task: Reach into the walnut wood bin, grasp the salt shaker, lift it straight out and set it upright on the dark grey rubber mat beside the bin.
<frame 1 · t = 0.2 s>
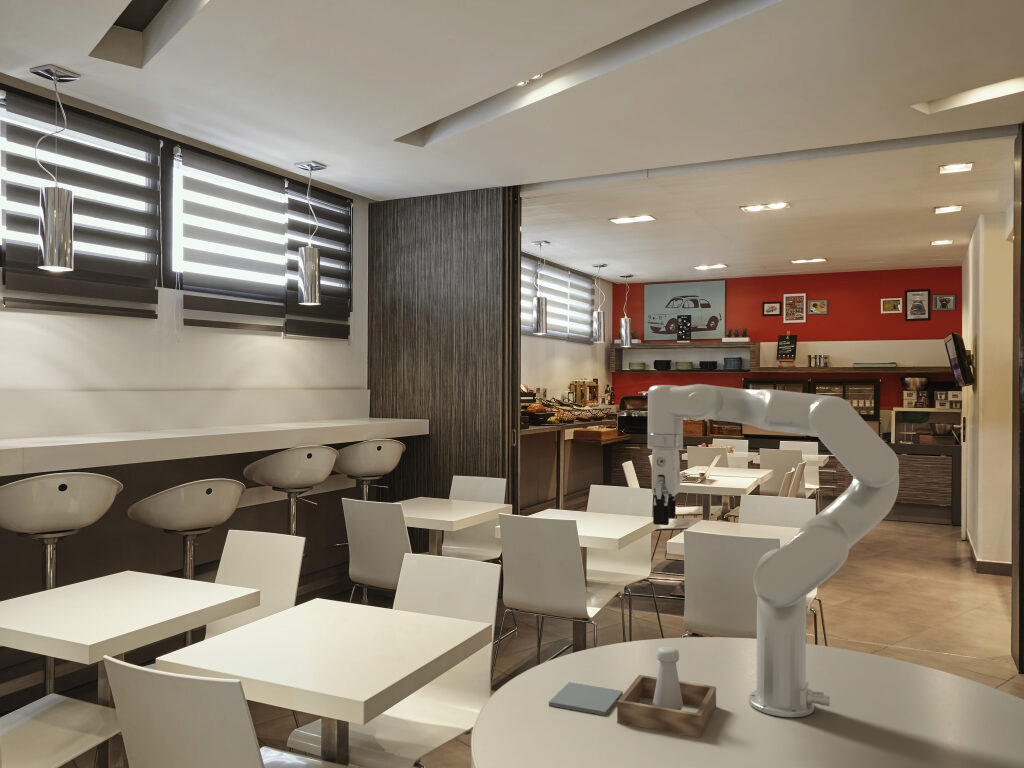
hand: (664, 521, 169), 36 cm above the table, tool pointing down, fingers open, 9 cm apart
bin: (667, 714, 154), on the table
salt shaker: (667, 715, 154), resting in bin
mat: (586, 700, 161), on the table
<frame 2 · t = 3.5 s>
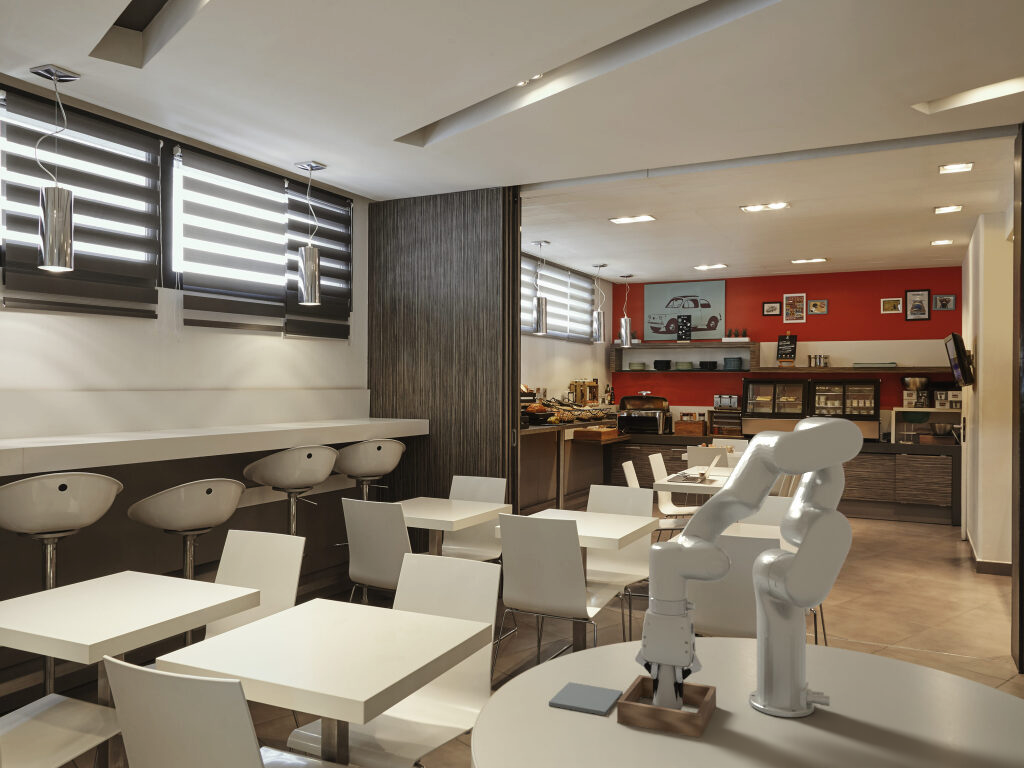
hand: (668, 697, 155), 3 cm above the table, tool pointing down, fingers closed on salt shaker, 3 cm apart
salt shaker: (667, 715, 154), resting in bin, touching gripper
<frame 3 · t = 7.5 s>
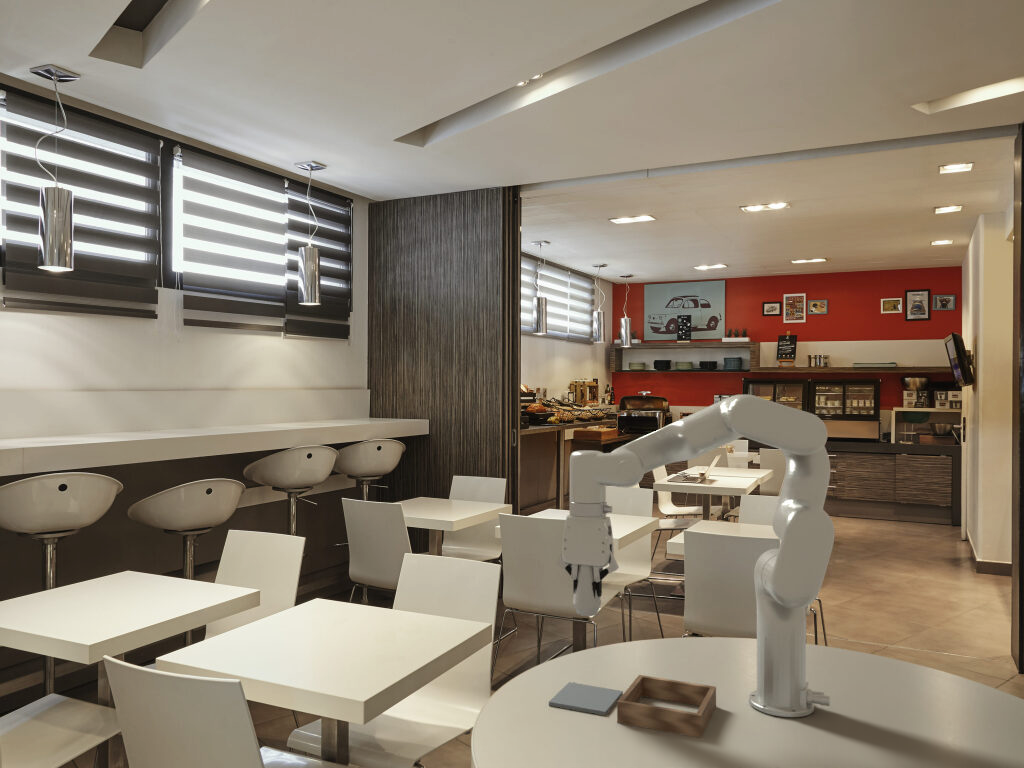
hand: (587, 598, 162), 21 cm above the table, tool pointing down, fingers closed on salt shaker, 3 cm apart
salt shaker: (587, 614, 162), point 18 cm above the table, touching gripper
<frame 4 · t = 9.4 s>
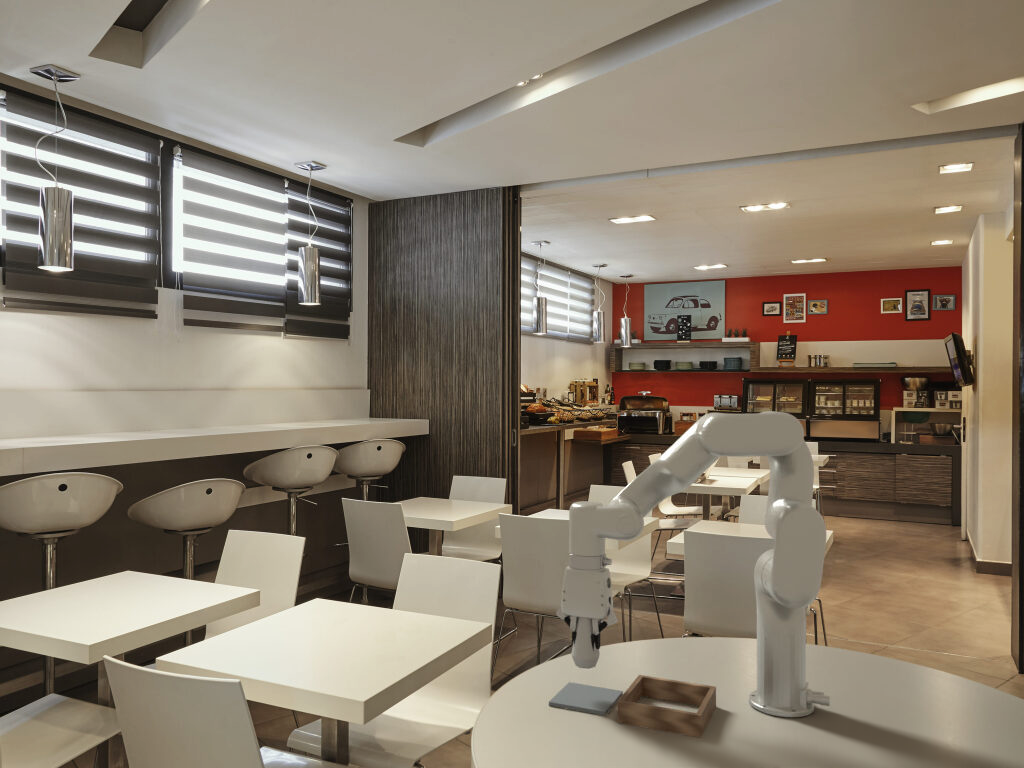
hand: (586, 649, 162), 10 cm above the table, tool pointing down, fingers closed on salt shaker, 3 cm apart
salt shaker: (585, 666, 162), point 7 cm above the table, touching gripper
when the fingers open (5 cm above the table, at t = 11.1 s): salt shaker drops 1 cm, resting on mat.
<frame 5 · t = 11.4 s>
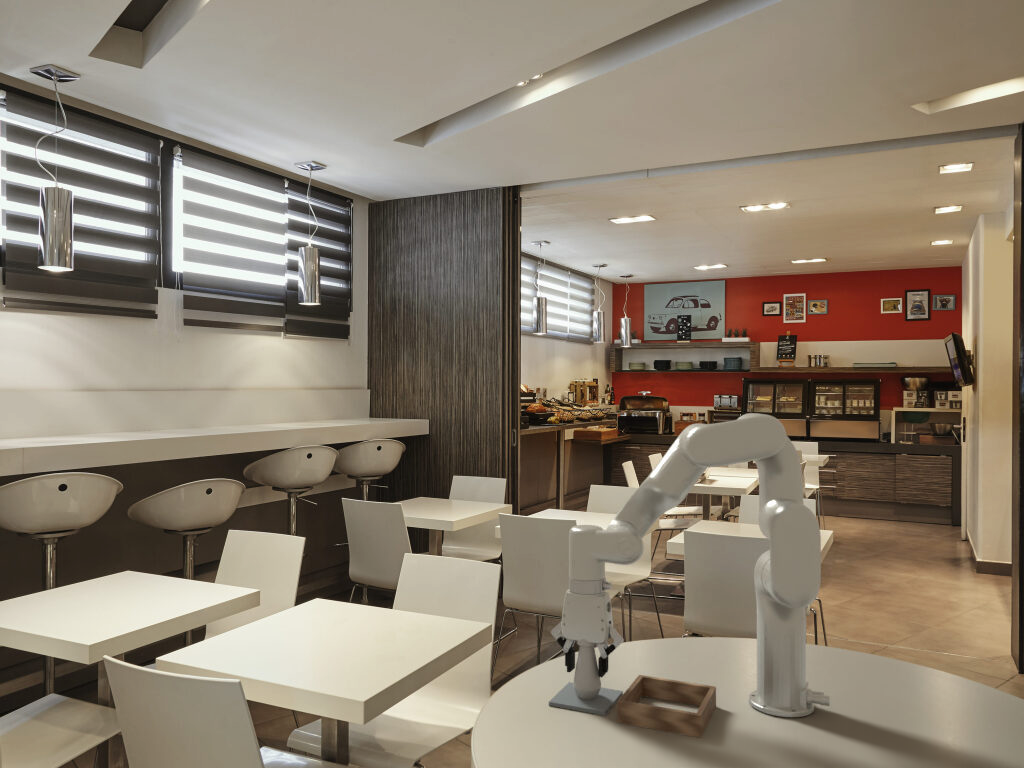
hand: (586, 671, 162), 6 cm above the table, tool pointing down, fingers open, 6 cm apart
salt shaker: (587, 697, 161), point 1 cm above the table, touching mat
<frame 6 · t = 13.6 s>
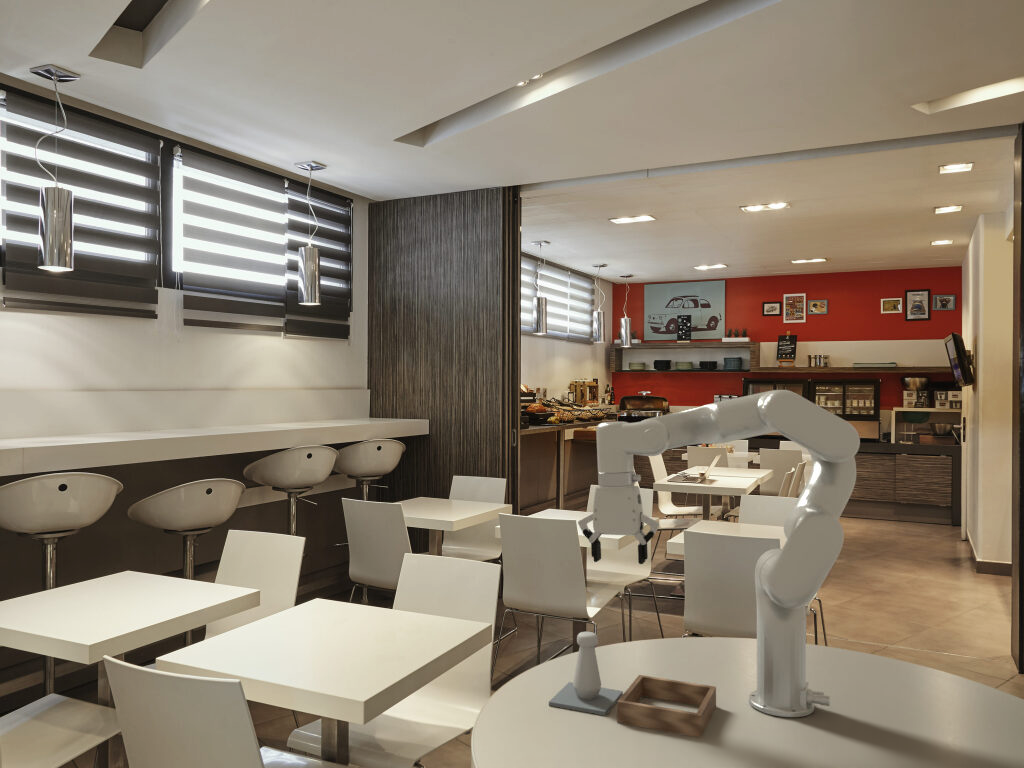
hand: (619, 561, 164), 28 cm above the table, tool pointing down, fingers open, 9 cm apart
nothing on the table moved.
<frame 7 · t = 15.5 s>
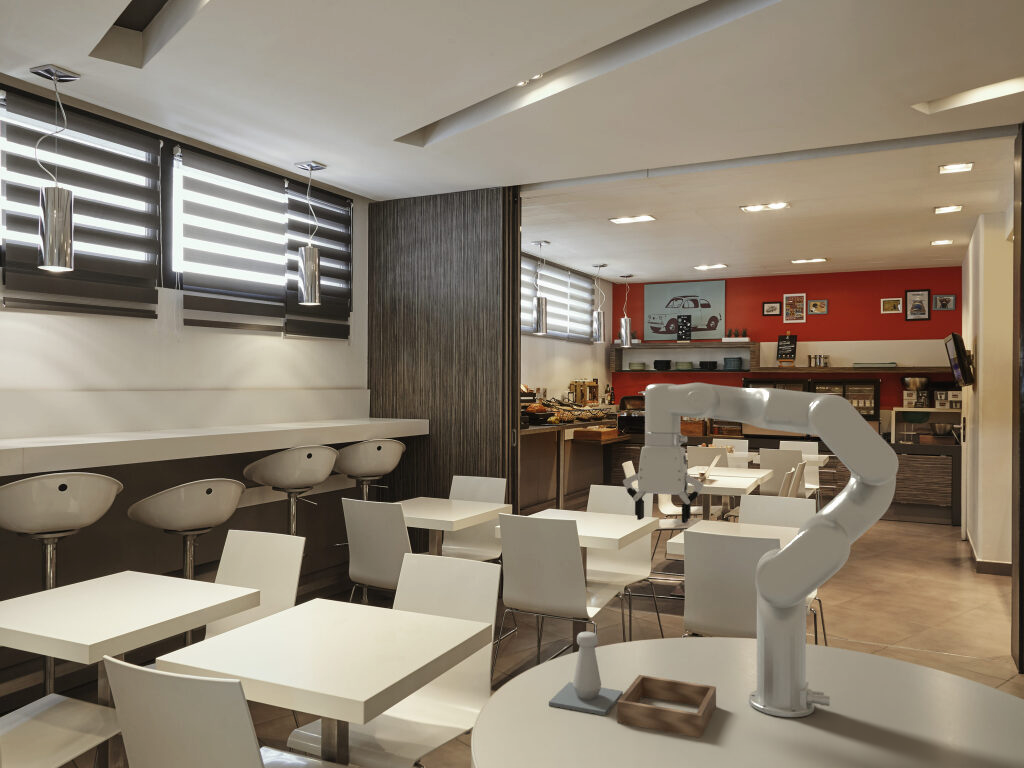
hand: (662, 520, 168), 36 cm above the table, tool pointing down, fingers open, 9 cm apart
nothing on the table moved.
at the end: salt shaker inside the target area on the mat (0.2 cm from its centre), point 0.6 cm above the mat's base; salt shaker tilted 0°; the gripper is holding nothing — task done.
